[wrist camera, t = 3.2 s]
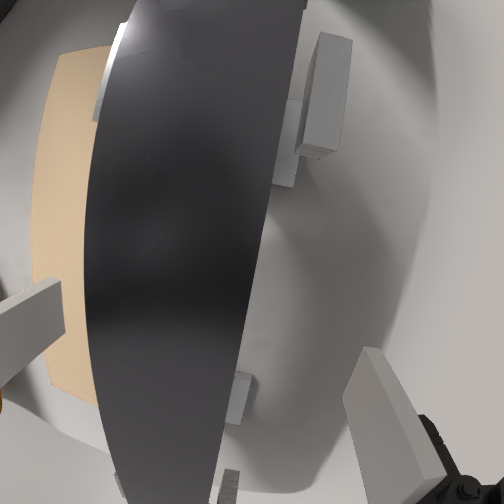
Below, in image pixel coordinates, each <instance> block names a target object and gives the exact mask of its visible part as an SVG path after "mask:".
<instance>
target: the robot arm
mask: <svg viewBox="0 0 504 504" xmlns="http://www.w3.org/2000/svg"><path fill="white" fill-rule="evenodd" d="M15 1H16V0H0V22H1V20H2V19H3V18H4V16H5V15H6V13H7V12H8V11H9V9H10V8H11V6H12V5H13V4H14V2H15ZM65 333H66V330H65V322H64V313H63V303H62V289H61V280H59V279H56V278H53V277H50V276H49V277H47V278H45V279H43V280H41V281H39V282H37V283H35V284H33V285H32V286H30V287H28V288H26V289H24V290H22V291H20V292H18V293H16V294H14V295H12V296H10V297H9V298H7V299H5V300H3V301H1V302H0V388H2V387H3V386H4V385H5V384H6V383H7V382H8V381H9V380H11V379H12V378H13V377H14V376H15V375H16V374H17V373H19V372H20V371H21V370H22V369H23V368H24V367H25V366H27V365H28V364H29V363H30V362H31V361H32V360H34V359H35V358H36V357H37V356H38V355H39V354H41V353H42V352H43V351H44V350H45V349H47V348H48V347H49V346H50V345H51V344H53V343H54V342H55V341H56V340H58V339H59V338H60V337H61V336H62V335H64V334H65ZM341 398H342V402H343V405H344V409H345V412H346V416H347V420H348V423H349V427H350V431H351V435H352V438H353V441H354V446H355V450H356V454H357V458H358V462H359V466H360V470H361V474H362V478H363V483H364V487H365V491H366V496H367V500H368V504H504V477H503V478H502V479H501V480H500V481H499V482H498V483H497V484H496V485H481V484H480V483H479V481H478V480H477V479H475V478H474V477H472V476H468V475H460V473H459V471H458V469H457V467H456V465H455V463H454V461H453V459H452V457H451V455H450V453H449V451H448V449H447V447H446V445H445V444H443V440H442V438H441V436H439V432H438V431H437V429H436V427H435V425H434V423H432V422H431V421H430V420H429V419H428V418H427V417H426V416H425V415H417V413H416V411H415V409H414V408H413V406H412V404H411V402H410V400H409V399H408V397H407V395H406V393H405V391H404V389H403V388H402V386H401V384H400V382H399V380H398V379H397V377H396V375H395V373H394V372H393V370H392V368H391V366H390V365H389V363H388V361H387V360H386V358H385V356H384V355H383V353H382V351H381V349H380V348H375V347H365V346H363V348H362V351H361V353H360V356H359V358H358V361H357V363H356V365H355V368H354V370H353V372H352V375H351V377H350V379H349V382H348V384H347V386H346V388H345V390H344V393H343V395H342V397H341Z"/></svg>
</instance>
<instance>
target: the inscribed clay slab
mask: <svg viewBox="0 0 504 504" xmlns="http://www.w3.org/2000/svg"><path fill="white" fill-rule="evenodd" d="M1 409H2V396H1V388H0V413H1Z"/></svg>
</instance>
